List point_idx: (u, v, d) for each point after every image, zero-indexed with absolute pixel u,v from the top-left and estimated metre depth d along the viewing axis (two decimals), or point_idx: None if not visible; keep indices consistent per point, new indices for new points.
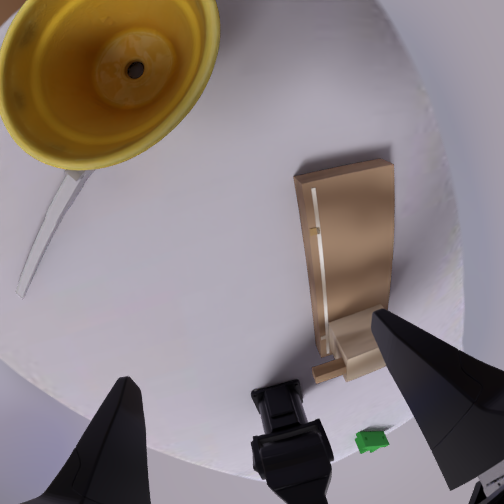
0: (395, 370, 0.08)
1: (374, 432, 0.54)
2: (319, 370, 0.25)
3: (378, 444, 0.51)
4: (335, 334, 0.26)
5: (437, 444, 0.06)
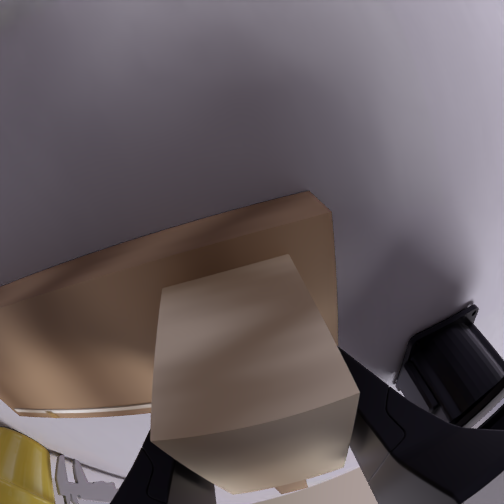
0: None
1: None
2: None
3: None
4: None
5: (370, 478, 0.06)
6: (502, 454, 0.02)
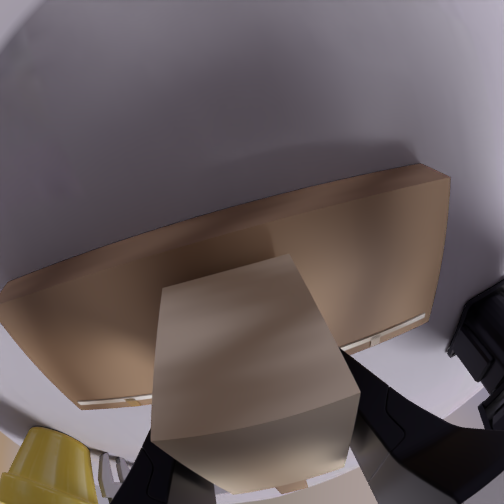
0: None
1: None
2: None
3: None
4: None
5: (370, 478, 0.06)
6: (502, 454, 0.02)
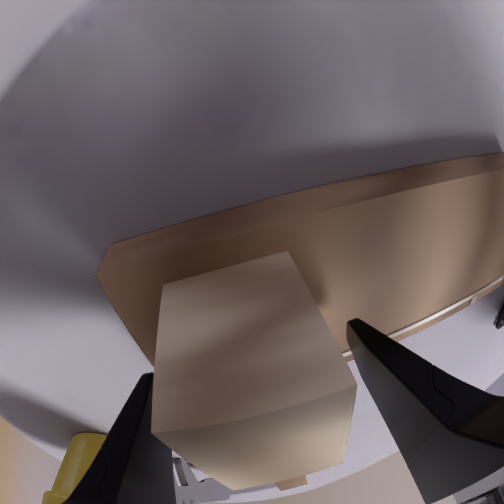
0: (369, 381, 0.08)
1: None
2: None
3: None
4: None
5: (411, 459, 0.06)
6: None
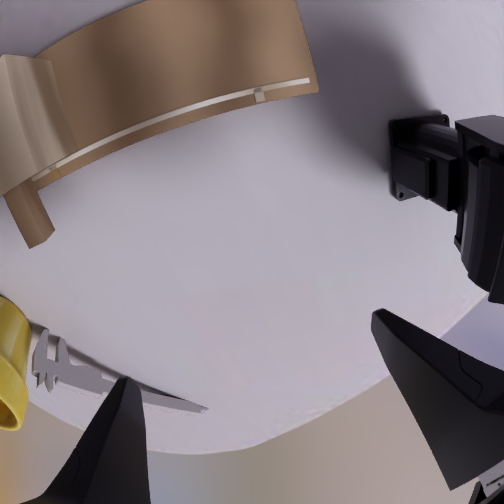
0: (395, 370, 0.08)
1: None
2: None
3: None
4: None
5: (437, 444, 0.06)
6: None
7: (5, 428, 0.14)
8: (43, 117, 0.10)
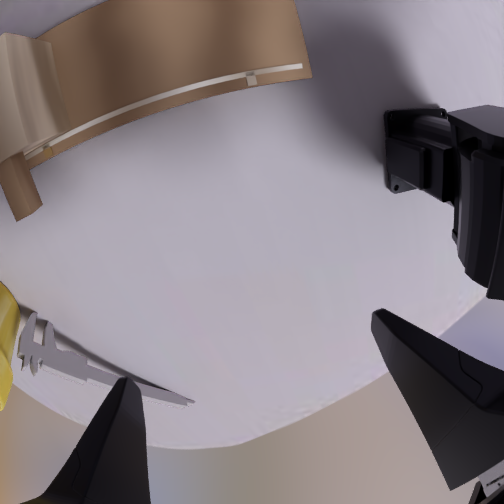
0: (395, 370, 0.08)
1: None
2: None
3: None
4: None
5: (437, 444, 0.06)
6: None
7: None
8: (38, 94, 0.09)
